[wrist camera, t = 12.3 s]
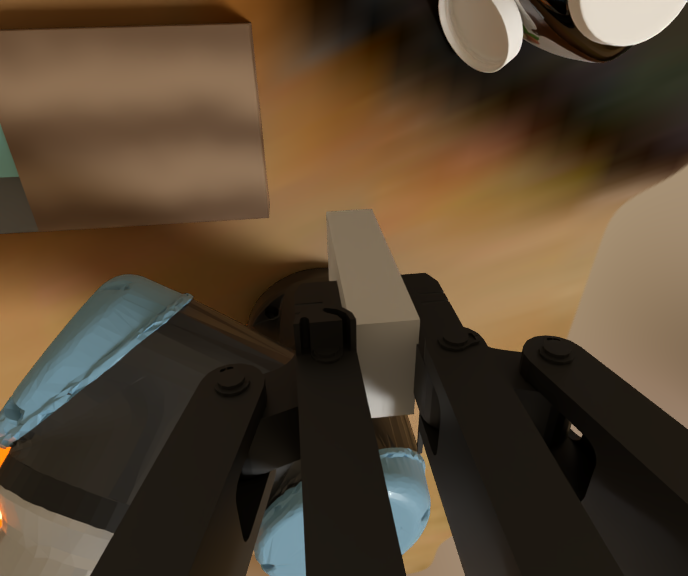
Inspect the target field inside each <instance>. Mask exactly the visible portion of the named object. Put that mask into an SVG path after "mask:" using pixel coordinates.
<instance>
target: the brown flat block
mask: <svg viewBox="0 0 688 576" xmlns="http://www.w3.org/2000/svg"><path fill="white" fill-rule="evenodd" d="M0 124H1V127H2V130H3V133H4V136H5V138H6V141H7V144H8V147H9V149H10V152H11V155H12V158H13V161H14V163H15V166H16V169H17V172H18V175H19V177H20V180H21V183H22V186H23V188H24V191H25V194H26V197H27V200H28V202H29V205H30V208H31V211H32V213H33V216H34V219H35V222H36V225H37V227H38V230H39V232H44V231H61V230H77V229H94V228H110V227H126V226H143V225H159V224H176V223H192V222H208V221H225V220H241V219H258V218H269V208H270V203H269V193H268V183H267V174H266V164H265V154H264V144H263V135H262V125H261V115H260V105H259V95H258V86H257V76H256V66H255V56H254V47H253V37H252V27H251V23H217V24H182V25H146V26H111V27H75V28H40V29H5V30H0Z"/></svg>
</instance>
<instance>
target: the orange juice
mask: <svg viewBox="0 0 688 576" xmlns="http://www.w3.org/2000/svg"><path fill="white" fill-rule="evenodd" d="M10 448H11V447H7V448H6V449H2V448H0V466H1V465H2V463H3V461H4V460H5V458H6V456H7V455H8V453H9V451H10ZM1 526H2V514H1V511H0V527H1Z"/></svg>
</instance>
